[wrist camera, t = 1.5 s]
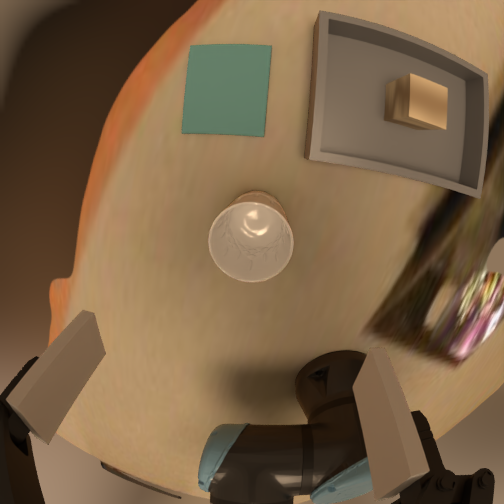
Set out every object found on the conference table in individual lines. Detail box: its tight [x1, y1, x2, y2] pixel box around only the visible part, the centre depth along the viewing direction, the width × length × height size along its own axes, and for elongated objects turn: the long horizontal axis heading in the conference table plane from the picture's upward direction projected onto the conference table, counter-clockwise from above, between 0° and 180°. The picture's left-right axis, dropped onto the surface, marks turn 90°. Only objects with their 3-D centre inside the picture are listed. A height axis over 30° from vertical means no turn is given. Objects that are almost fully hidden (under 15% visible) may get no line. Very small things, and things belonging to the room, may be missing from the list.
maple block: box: [384, 73, 448, 130], centre depth 24 cm, size 5×5×7 cm
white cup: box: [208, 191, 294, 282], centre depth 30 cm, size 8×8×10 cm
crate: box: [304, 11, 489, 199], centre depth 25 cm, size 18×24×5 cm
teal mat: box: [182, 44, 272, 137], centre depth 28 cm, size 12×10×1 cm
